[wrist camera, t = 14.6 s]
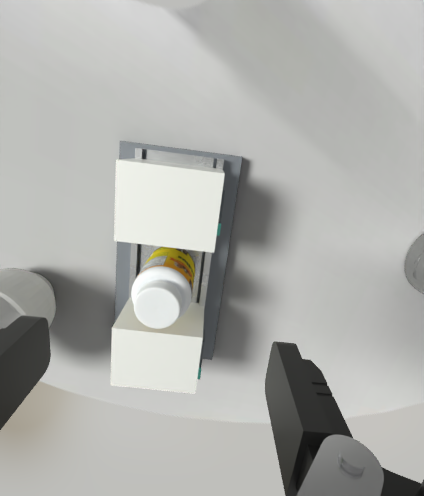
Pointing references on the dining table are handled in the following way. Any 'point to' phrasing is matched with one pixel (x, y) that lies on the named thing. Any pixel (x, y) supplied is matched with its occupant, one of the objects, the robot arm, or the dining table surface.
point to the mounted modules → (166, 235)
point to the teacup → (25, 296)
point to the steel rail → (149, 249)
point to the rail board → (217, 258)
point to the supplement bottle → (164, 287)
